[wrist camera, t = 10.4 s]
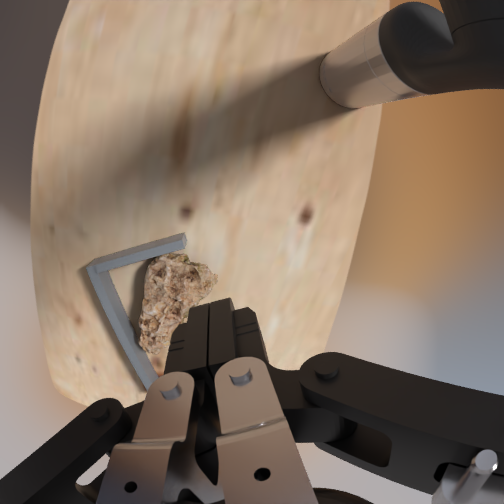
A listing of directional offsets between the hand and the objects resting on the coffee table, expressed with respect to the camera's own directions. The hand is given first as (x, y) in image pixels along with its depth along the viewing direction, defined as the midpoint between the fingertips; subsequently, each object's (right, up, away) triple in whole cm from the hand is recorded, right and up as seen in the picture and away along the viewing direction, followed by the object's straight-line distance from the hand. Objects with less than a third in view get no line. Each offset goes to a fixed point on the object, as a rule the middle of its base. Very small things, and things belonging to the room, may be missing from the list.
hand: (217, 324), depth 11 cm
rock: (-10, -5, +35) cm, 36 cm away
